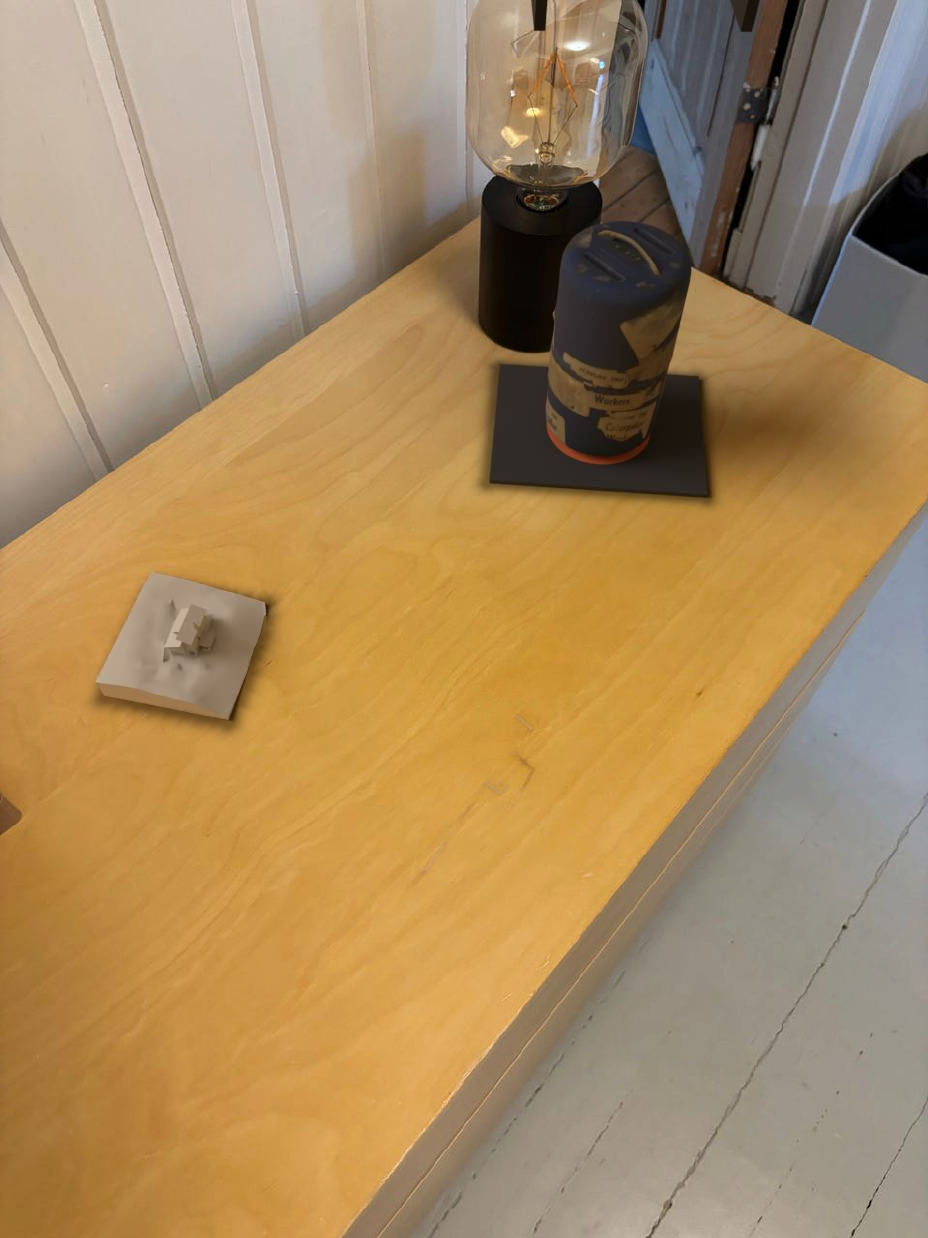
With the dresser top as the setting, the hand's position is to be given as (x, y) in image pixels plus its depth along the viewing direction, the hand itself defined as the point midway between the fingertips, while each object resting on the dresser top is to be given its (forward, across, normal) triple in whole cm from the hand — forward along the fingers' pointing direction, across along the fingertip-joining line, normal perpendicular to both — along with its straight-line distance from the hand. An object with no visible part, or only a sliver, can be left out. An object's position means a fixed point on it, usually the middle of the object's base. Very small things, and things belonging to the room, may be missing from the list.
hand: (646, 9), depth 60 cm
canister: (+8, 0, -30) cm, 31 cm away
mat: (+8, 0, -30) cm, 31 cm away
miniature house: (+30, +32, -30) cm, 53 cm away
